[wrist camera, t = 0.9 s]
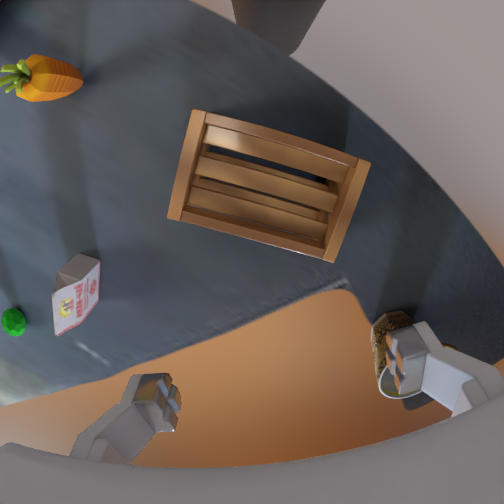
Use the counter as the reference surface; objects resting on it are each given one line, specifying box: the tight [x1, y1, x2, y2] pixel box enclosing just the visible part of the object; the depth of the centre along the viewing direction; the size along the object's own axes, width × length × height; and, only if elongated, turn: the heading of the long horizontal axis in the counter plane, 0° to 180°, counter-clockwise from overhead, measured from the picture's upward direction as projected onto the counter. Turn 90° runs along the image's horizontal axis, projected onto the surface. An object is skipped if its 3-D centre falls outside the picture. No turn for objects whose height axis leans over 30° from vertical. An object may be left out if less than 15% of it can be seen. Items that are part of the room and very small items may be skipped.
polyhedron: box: [1, 308, 26, 336], centre depth 42 cm, size 5×5×5 cm
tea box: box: [52, 253, 101, 337], centre depth 36 cm, size 4×7×10 cm, turn 164°
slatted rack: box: [167, 109, 371, 263], centre depth 31 cm, size 10×16×9 cm, turn 74°
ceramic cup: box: [371, 310, 458, 399], centre depth 39 cm, size 13×10×10 cm
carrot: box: [0, 54, 84, 102], centre depth 24 cm, size 5×5×15 cm
